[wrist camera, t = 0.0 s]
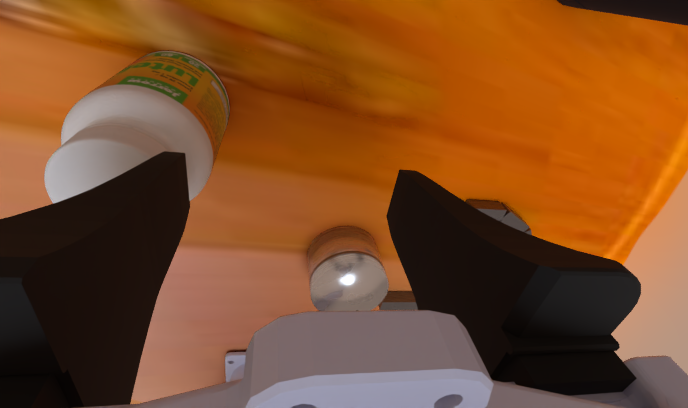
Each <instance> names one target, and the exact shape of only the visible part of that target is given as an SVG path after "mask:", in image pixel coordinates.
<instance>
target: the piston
mask: <svg viewBox="0 0 688 408" xmlns="http://www.w3.org/2000/svg"><path fill="white" fill-rule="evenodd" d="M307 258H308V270H309V281H310V292H311V300H312V302H313V304H314V306H315V307H316V308H317V309H318V310H319V311H370V310H372V309H374V308H375V307H376V306H378V305H379V304H380V303H381V302H382V301H383V299H384V298H385V296H386V294H387V292H388V287H389V284H388V279H387V276H386V273H385V270H384V267H383V264H382V261H381V258H380V255H379V252H378V249H377V246H376V243H375V241H374V239H373V237H372V236H371V235H370V234H369V233H368V232H366V231H365V230H363V229H360V228H357V227H353V226H340V227H335V228H331V229H329V230H326V231H324V232H323V233H321V234H320V235H318V236H317V237H316V238H315V239H314V240H313V241H312V243H311V244H310V246H309V249H308V253H307Z"/></svg>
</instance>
